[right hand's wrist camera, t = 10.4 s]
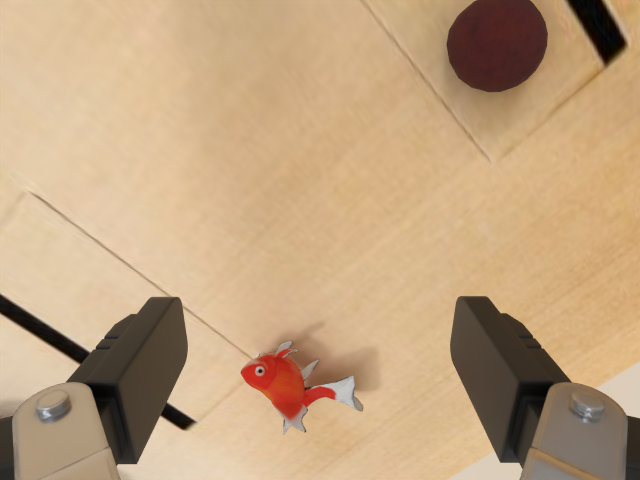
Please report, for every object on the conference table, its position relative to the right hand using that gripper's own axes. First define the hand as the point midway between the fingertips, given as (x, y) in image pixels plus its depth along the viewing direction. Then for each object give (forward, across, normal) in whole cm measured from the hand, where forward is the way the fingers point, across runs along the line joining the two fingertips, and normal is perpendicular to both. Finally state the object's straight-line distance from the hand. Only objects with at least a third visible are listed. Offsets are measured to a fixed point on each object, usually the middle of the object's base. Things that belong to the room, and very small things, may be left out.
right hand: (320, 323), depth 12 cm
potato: (+30, +14, +10) cm, 35 cm away
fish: (+30, -1, -26) cm, 40 cm away
